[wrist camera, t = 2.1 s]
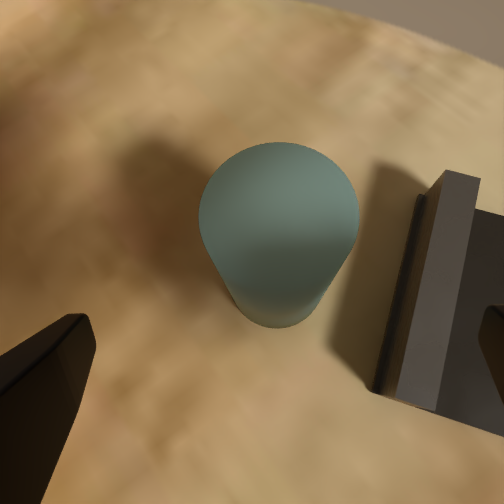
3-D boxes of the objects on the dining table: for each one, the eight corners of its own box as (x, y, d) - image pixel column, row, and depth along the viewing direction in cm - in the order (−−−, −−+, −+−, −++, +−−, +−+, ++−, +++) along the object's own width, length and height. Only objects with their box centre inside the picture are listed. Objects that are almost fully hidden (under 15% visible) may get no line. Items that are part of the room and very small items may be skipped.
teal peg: (260, 346, 19) (250, 324, 11) (214, 267, 21) (170, 190, 12) (340, 297, 20) (392, 238, 11) (290, 222, 21) (302, 117, 12)
